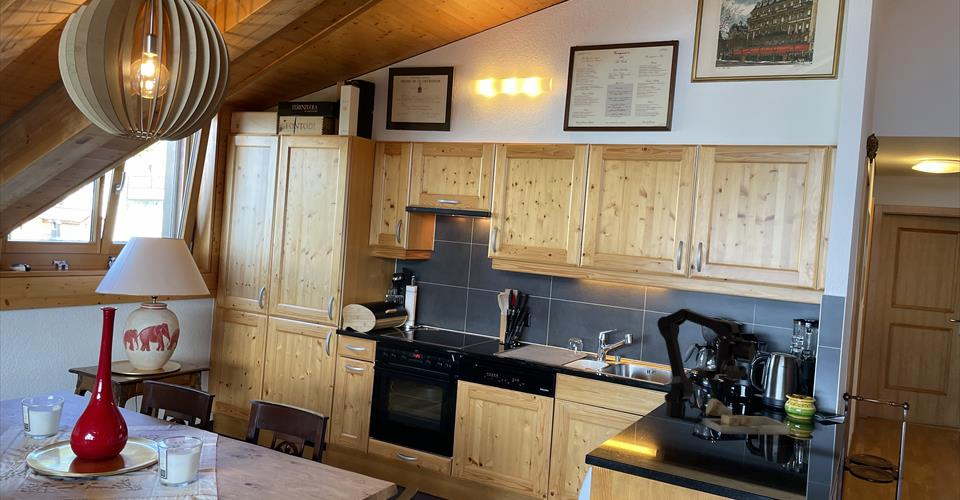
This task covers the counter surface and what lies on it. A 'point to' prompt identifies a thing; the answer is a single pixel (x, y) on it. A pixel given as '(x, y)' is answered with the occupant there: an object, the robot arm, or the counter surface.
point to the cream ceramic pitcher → (717, 408)
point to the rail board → (757, 426)
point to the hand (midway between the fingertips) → (720, 397)
